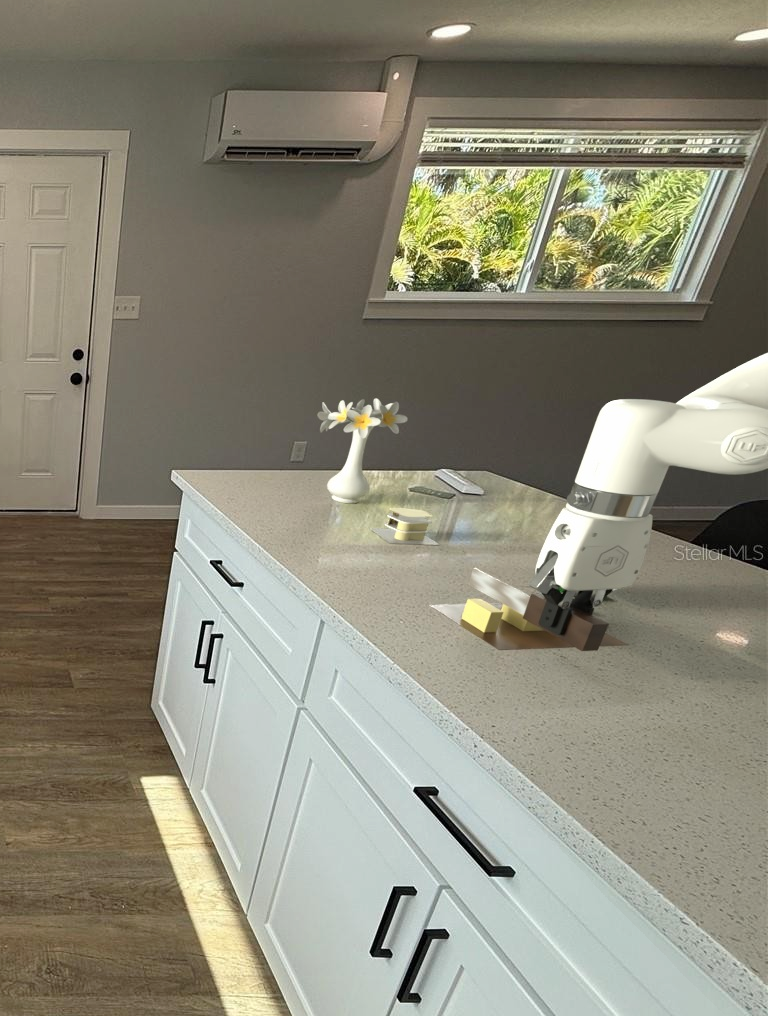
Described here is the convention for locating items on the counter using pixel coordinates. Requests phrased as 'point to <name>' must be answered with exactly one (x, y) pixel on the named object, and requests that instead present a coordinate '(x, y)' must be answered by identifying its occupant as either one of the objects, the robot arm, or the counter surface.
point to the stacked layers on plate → (406, 527)
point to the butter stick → (518, 620)
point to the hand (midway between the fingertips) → (560, 628)
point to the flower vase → (357, 443)
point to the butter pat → (482, 615)
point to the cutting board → (512, 632)
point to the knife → (580, 627)
